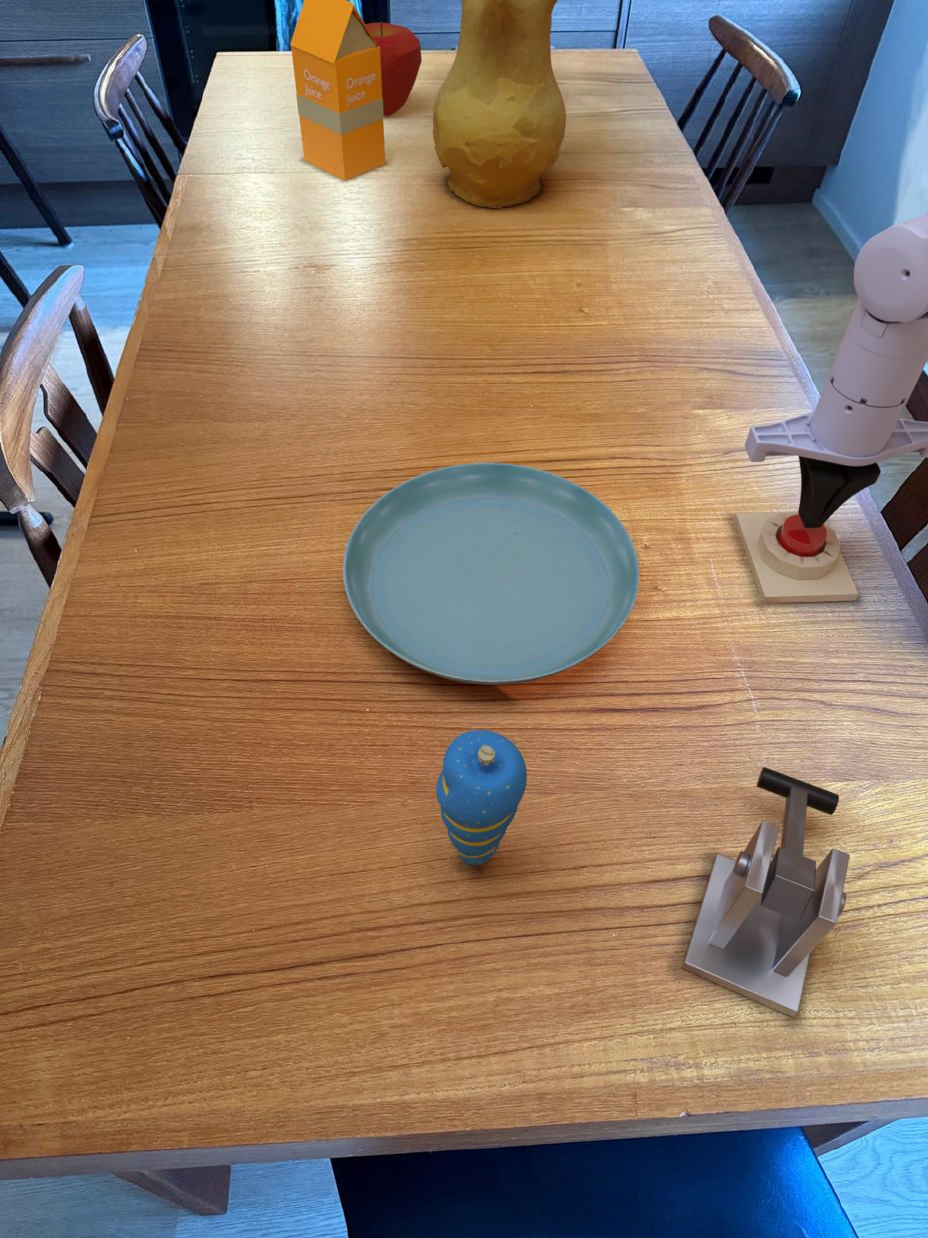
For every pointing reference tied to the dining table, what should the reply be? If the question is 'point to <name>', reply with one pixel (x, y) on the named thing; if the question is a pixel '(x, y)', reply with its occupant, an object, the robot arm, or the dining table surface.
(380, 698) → the dining table surface
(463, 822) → the ornament
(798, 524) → the button
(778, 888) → the lever
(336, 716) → the dining table surface
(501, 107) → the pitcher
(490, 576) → the teal plate
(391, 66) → the apple
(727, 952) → the bracket
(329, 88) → the orange juice
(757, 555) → the button block
